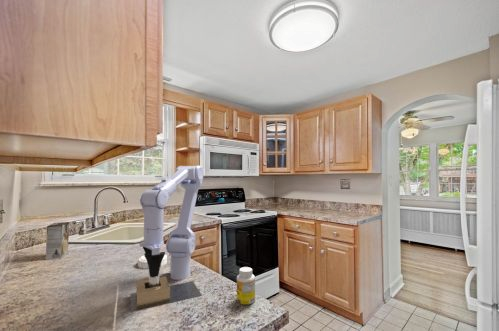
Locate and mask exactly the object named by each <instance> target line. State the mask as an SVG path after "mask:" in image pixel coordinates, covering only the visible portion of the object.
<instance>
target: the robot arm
mask: <svg viewBox="0 0 499 331" xmlns="http://www.w3.org/2000/svg"><path fill="white" fill-rule="evenodd" d="M203 178H204V171H203V167H202V166H201V165H179V166H178V167H176V168H175V172H174V174H172V176H171V177H170V178H162V179H161V181H160V182H159V183H158V184H156V185H154V186H153V188H151V189H147V190H145V191H144V192H142V194H141V196H140V199H139V202H140V206H141V208H142V211H141V212H142V213H143V242H139V245H138V246H139V247H141V248H142V249H143V251H144V255H145V258H146V260H147V264H148V266H149V269H148V274H149V273H150V277H156V276H158V274H159V275H160V269H161V267H160V265H161V262H162V259H163V257H164V255H166V252H167V253H168V256H170V263H169V264H170V265H169V266H170V268H169V269H170V270H169V273H170V279H171V280H173V281H174V280H175V281H181V280H185V279H188V278H189V277H191V255H192V254H193V252H195V249H196V233H195V232H194V231H193V230H192V229H191V227H192V222H193V217H194V212H195V207H196V202H197V197H198V192H199V189H200V188H202V184H203ZM179 185H180V186H181V187H182V188H183V189H185V191H184V196H183V199H182V204H181V207H180V208H181V210H180V214H179V218H178V221H177V222H178V223H177V225H176V227H175V228H174V229H173V230H172V231H170V234H169V236H168V238H167V240H166V243H165V241H164V220H165V219H164V217H165V216H164V215H165V214H164V211H165V210H164V208H165V207H166V206H167V204H168V201H169V200H170V197H171V196H172V195H173V194H174V193H175V192H176V191H177V188H178V186H179ZM164 243H165V249H166V252H165V251H160V250H161V248H162V247H163V245H164ZM144 255H143V256H144Z"/></svg>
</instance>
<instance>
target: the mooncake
mask: <svg viewBox="0 0 499 331" xmlns="http://www.w3.org/2000/svg"><path fill="white" fill-rule="evenodd" d="M166 264H168V255H167V254H165V255H164V257H163V259H162V262H161V267H163V266H165V265H166ZM147 265H148V264H147V260H146V258H145V255H142V256H140V257H139V258H138V259H137V266H138V267H137V268H140V269H144V270H148V269H147Z"/></svg>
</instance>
